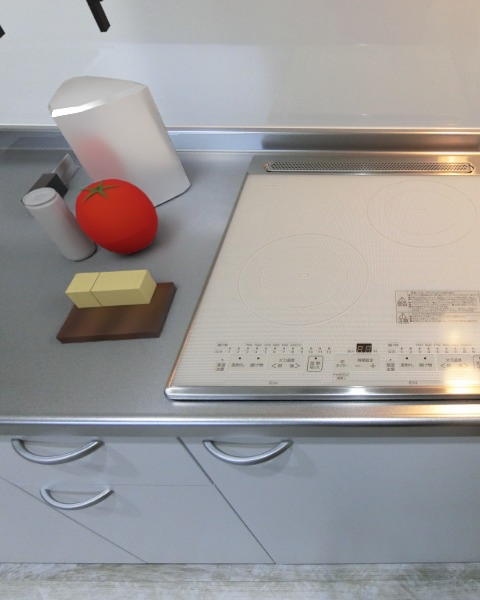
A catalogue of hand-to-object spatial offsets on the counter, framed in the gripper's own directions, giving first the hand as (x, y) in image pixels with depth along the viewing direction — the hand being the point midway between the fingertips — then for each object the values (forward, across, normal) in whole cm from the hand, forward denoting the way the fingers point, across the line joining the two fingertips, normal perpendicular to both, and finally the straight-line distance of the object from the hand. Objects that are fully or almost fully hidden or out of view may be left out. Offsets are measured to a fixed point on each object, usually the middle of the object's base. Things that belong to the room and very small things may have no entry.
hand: (53, 33), depth 60 cm
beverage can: (+31, -10, -9) cm, 34 cm away
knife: (+31, -19, +13) cm, 39 cm away
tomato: (+31, -1, -9) cm, 33 cm away
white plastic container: (+31, -3, +6) cm, 32 cm away
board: (+31, -1, -25) cm, 40 cm away
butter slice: (+30, -5, -22) cm, 37 cm away
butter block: (+30, +1, -23) cm, 38 cm away
